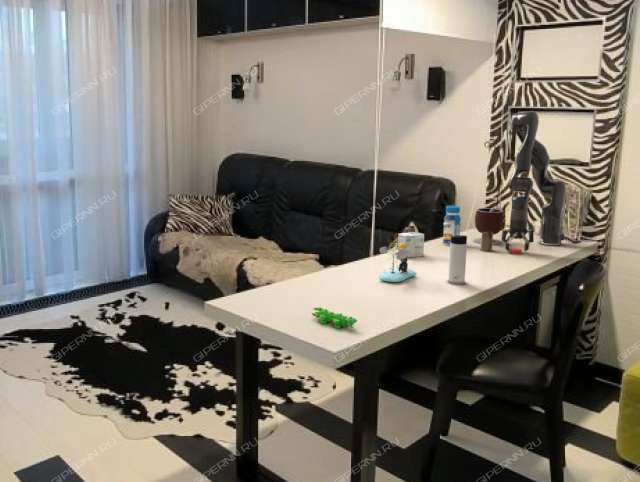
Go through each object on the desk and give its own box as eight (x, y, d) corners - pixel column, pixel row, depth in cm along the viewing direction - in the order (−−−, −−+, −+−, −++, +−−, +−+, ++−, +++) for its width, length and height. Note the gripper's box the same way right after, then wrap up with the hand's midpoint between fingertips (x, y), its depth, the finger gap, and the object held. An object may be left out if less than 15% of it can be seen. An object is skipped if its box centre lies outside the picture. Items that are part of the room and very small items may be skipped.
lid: (508, 253, 295) (508, 250, 295) (509, 250, 300) (509, 247, 300) (521, 254, 292) (522, 251, 292) (522, 251, 297) (522, 248, 297)
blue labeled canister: (462, 246, 310) (464, 207, 307) (445, 246, 311) (447, 207, 307) (456, 242, 319) (458, 205, 316) (440, 242, 319) (442, 205, 316)
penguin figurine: (399, 271, 265) (400, 237, 263) (421, 275, 257) (422, 241, 255) (372, 280, 252) (373, 244, 249) (395, 285, 244) (396, 249, 241)
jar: (487, 248, 305) (488, 230, 303) (494, 250, 300) (495, 232, 298) (478, 249, 303) (479, 231, 301) (485, 251, 298) (487, 233, 297)
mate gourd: (470, 238, 327) (472, 202, 324) (497, 239, 325) (500, 202, 322) (477, 245, 312) (480, 207, 309) (506, 245, 310) (508, 207, 307)
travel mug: (457, 285, 243) (460, 237, 240) (445, 281, 249) (447, 234, 245) (468, 283, 246) (471, 235, 243) (456, 279, 252) (458, 232, 248)
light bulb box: (415, 252, 297) (416, 231, 295) (424, 256, 291) (425, 234, 289) (397, 254, 294) (397, 233, 292) (404, 257, 287) (405, 235, 286)
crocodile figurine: (350, 333, 194) (350, 320, 193) (306, 319, 206) (306, 307, 206) (362, 327, 198) (362, 315, 197) (318, 314, 211) (319, 302, 210)
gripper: (531, 216, 296) (529, 248, 299) (501, 216, 298) (499, 248, 300) (537, 219, 289) (534, 252, 291) (506, 219, 290) (504, 252, 293)
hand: (516, 250), depth 296 cm, fingers open, 8 cm apart
